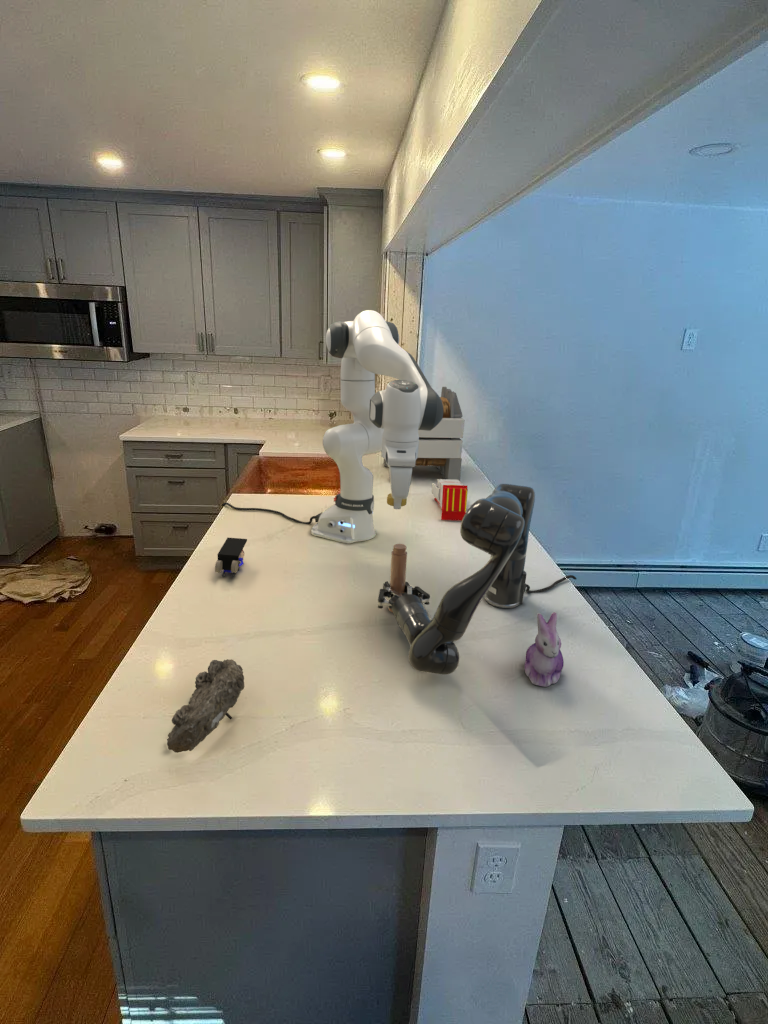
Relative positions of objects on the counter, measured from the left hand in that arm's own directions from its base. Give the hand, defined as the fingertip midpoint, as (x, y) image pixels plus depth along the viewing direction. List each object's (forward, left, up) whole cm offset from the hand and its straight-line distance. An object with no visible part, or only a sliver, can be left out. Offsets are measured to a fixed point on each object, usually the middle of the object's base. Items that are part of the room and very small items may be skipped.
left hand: (396, 504), depth 141 cm
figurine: (+40, -18, -29) cm, 52 cm away
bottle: (+2, -1, -29) cm, 29 cm away
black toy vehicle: (-50, +5, -29) cm, 58 cm away
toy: (+1, +84, -29) cm, 89 cm away
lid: (0, 0, +2) cm, 2 cm away
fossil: (-21, -53, -29) cm, 64 cm away
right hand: (0, +2, -23) cm, 23 cm away
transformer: (-21, +131, -29) cm, 136 cm away
